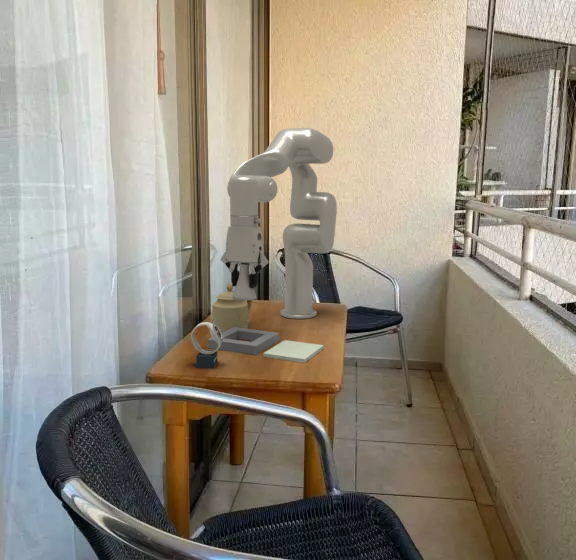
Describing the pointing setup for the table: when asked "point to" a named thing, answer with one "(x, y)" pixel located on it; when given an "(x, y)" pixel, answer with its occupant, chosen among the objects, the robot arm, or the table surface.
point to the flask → (243, 285)
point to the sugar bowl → (230, 311)
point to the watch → (207, 356)
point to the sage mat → (293, 351)
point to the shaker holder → (258, 338)
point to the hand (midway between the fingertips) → (244, 285)
